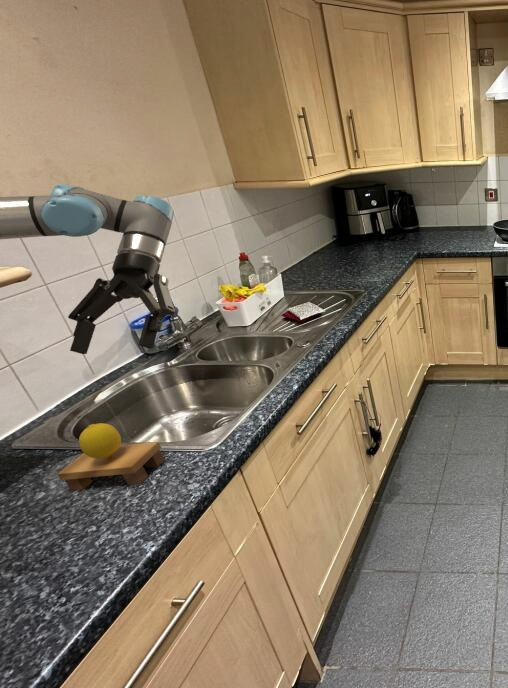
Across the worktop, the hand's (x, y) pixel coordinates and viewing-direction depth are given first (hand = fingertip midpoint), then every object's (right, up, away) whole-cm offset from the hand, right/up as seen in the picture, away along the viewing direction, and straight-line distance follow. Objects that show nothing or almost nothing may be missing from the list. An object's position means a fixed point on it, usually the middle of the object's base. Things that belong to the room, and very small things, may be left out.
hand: (111, 349), depth 84 cm
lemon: (+2, -21, -2) cm, 22 cm away
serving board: (+2, -26, -1) cm, 26 cm away
